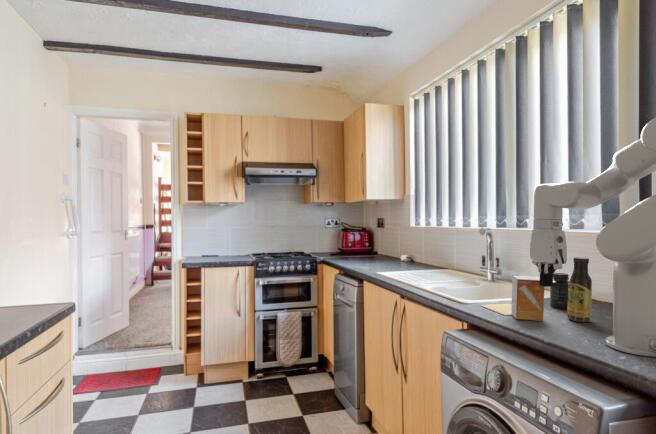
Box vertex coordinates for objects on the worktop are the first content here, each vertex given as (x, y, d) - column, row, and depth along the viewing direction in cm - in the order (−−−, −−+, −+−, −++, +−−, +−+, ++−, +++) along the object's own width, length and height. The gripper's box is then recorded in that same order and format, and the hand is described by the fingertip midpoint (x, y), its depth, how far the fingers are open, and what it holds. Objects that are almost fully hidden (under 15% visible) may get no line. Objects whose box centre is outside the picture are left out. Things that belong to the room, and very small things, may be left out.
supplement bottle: (550, 303, 143) (550, 271, 143) (572, 306, 139) (572, 273, 139) (548, 307, 137) (548, 274, 137) (571, 310, 133) (571, 275, 133)
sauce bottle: (562, 318, 123) (562, 256, 123) (576, 316, 125) (576, 255, 125) (582, 324, 117) (582, 259, 117) (596, 322, 119) (596, 258, 119)
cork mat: (536, 313, 129) (536, 312, 129) (505, 315, 127) (505, 314, 127) (509, 304, 143) (509, 303, 143) (480, 305, 141) (480, 305, 141)
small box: (515, 319, 122) (516, 278, 121) (511, 313, 128) (511, 275, 127) (544, 321, 120) (545, 280, 119) (537, 315, 126) (538, 276, 126)
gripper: (579, 226, 109) (577, 291, 109) (539, 223, 123) (538, 280, 124) (556, 226, 107) (554, 292, 108) (519, 224, 122) (518, 281, 122)
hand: (546, 285), depth 116 cm, fingers closed
